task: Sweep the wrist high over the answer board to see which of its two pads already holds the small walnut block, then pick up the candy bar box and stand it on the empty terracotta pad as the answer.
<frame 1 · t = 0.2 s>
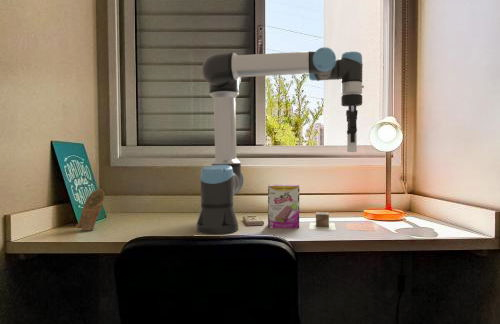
hand: (351, 152, 136), 28 cm above the table, fingers open, 13 cm apart
candy bar box: (283, 231, 131), on the table
answer board: (341, 230, 130), on the table
walnut block: (322, 225, 131), point 1 cm above the table, touching answer board
figurine: (92, 230, 135), on the table
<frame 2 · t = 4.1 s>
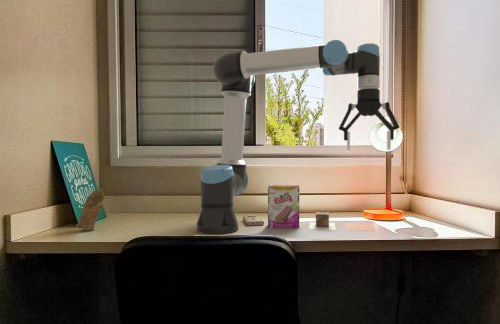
hand: (368, 149, 129), 29 cm above the table, fingers open, 13 cm apart
nothing on the table moved.
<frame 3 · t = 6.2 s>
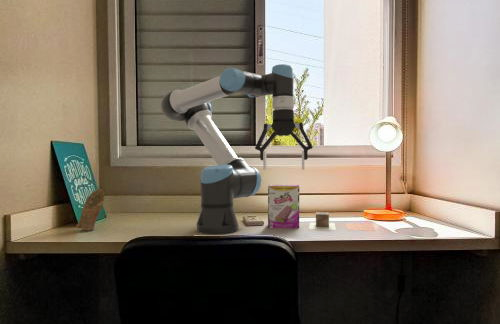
hand: (283, 169, 130), 22 cm above the table, fingers open, 13 cm apart
nothing on the table moved.
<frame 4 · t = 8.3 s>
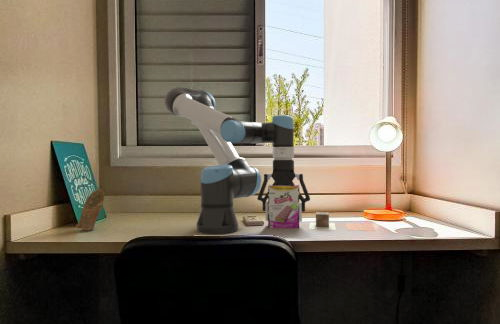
hand: (283, 220, 131), 4 cm above the table, fingers closed on candy bar box, 11 cm apart
candy bar box: (283, 231, 131), on the table, touching gripper
everything else where it was.
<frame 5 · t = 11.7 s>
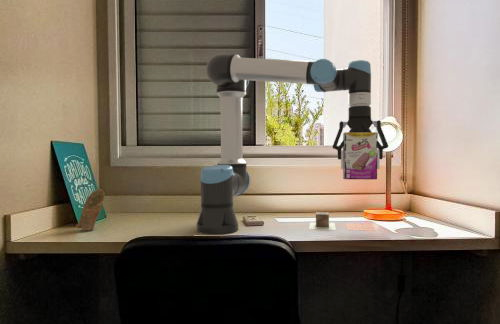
hand: (359, 169, 128), 22 cm above the table, fingers closed on candy bar box, 11 cm apart
candy bar box: (360, 179, 128), point 18 cm above the table, touching gripper
everything else where it was.
when the fingers open (6 cm above the table, at t = 15.2 s): candy bar box stays where it is, resting on answer board.
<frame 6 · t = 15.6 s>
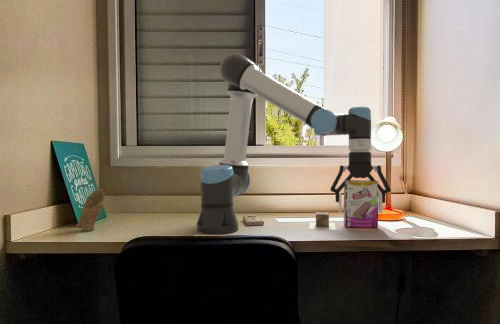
hand: (360, 212, 129), 7 cm above the table, fingers open, 13 cm apart
candy bar box: (360, 227, 128), point 1 cm above the table, touching answer board
everything else where it was.
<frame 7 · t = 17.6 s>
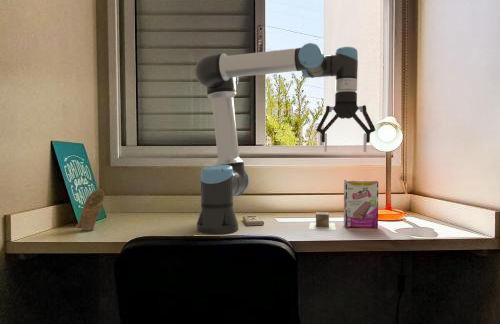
hand: (344, 152, 131), 28 cm above the table, fingers open, 13 cm apart
nothing on the table moved.
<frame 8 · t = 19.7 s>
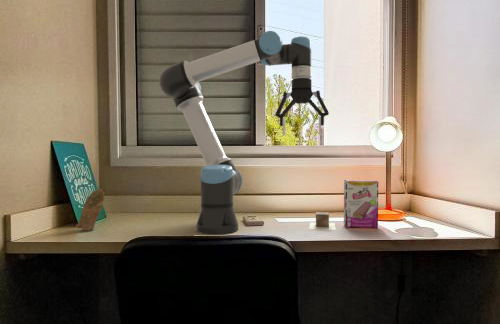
hand: (301, 134, 141), 35 cm above the table, fingers open, 13 cm apart
nothing on the table moved.
at the end: candy bar box inside the target area on the answer board (0.2 cm from its centre), point 1.3 cm above the answer board's base; candy bar box tilted 0°; the gripper is holding nothing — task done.
